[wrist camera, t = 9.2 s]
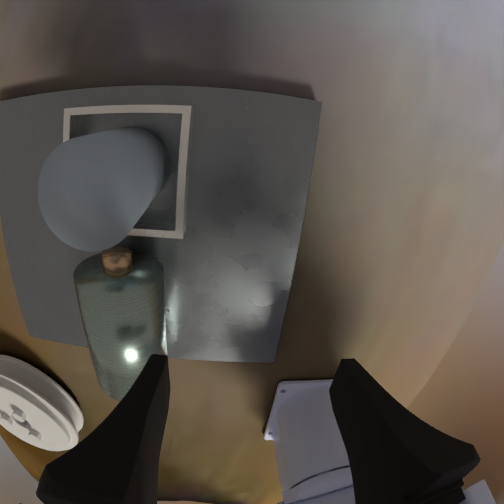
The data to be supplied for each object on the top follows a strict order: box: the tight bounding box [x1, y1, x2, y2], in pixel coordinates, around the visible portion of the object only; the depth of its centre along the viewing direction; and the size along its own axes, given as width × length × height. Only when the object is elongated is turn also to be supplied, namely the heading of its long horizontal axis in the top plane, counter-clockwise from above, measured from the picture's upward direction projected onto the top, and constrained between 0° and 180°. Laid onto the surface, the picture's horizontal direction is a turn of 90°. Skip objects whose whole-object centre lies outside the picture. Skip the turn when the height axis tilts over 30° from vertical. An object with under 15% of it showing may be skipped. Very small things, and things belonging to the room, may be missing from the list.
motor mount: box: [0, 85, 322, 401], centre depth 16 cm, size 18×20×6 cm
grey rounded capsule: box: [38, 127, 168, 252], centre depth 13 cm, size 4×4×6 cm
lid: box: [0, 355, 84, 451], centre depth 23 cm, size 13×13×5 cm
